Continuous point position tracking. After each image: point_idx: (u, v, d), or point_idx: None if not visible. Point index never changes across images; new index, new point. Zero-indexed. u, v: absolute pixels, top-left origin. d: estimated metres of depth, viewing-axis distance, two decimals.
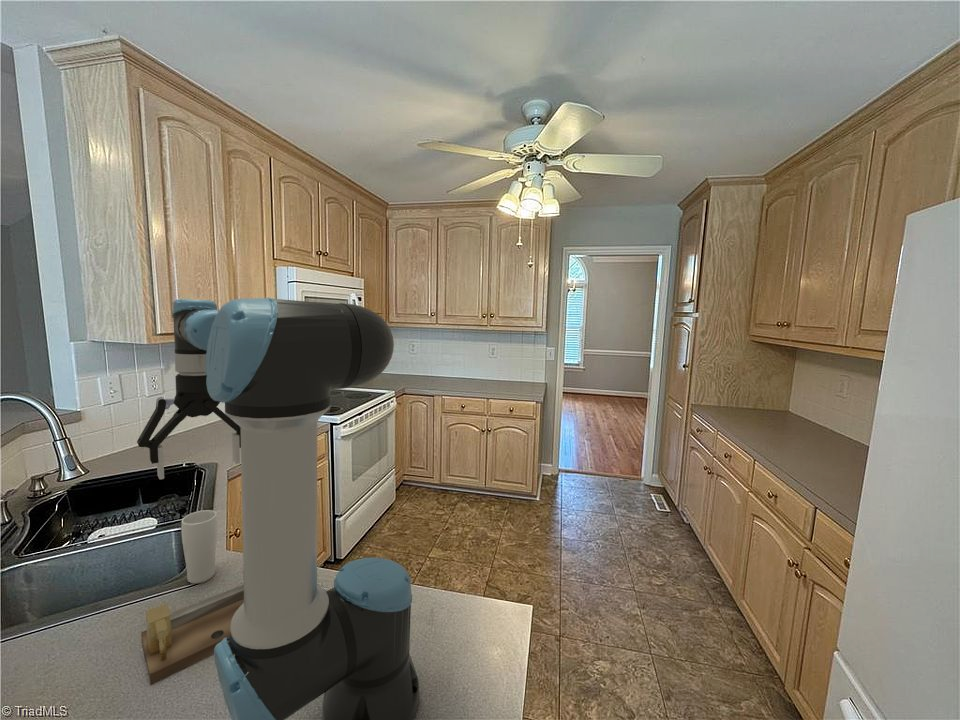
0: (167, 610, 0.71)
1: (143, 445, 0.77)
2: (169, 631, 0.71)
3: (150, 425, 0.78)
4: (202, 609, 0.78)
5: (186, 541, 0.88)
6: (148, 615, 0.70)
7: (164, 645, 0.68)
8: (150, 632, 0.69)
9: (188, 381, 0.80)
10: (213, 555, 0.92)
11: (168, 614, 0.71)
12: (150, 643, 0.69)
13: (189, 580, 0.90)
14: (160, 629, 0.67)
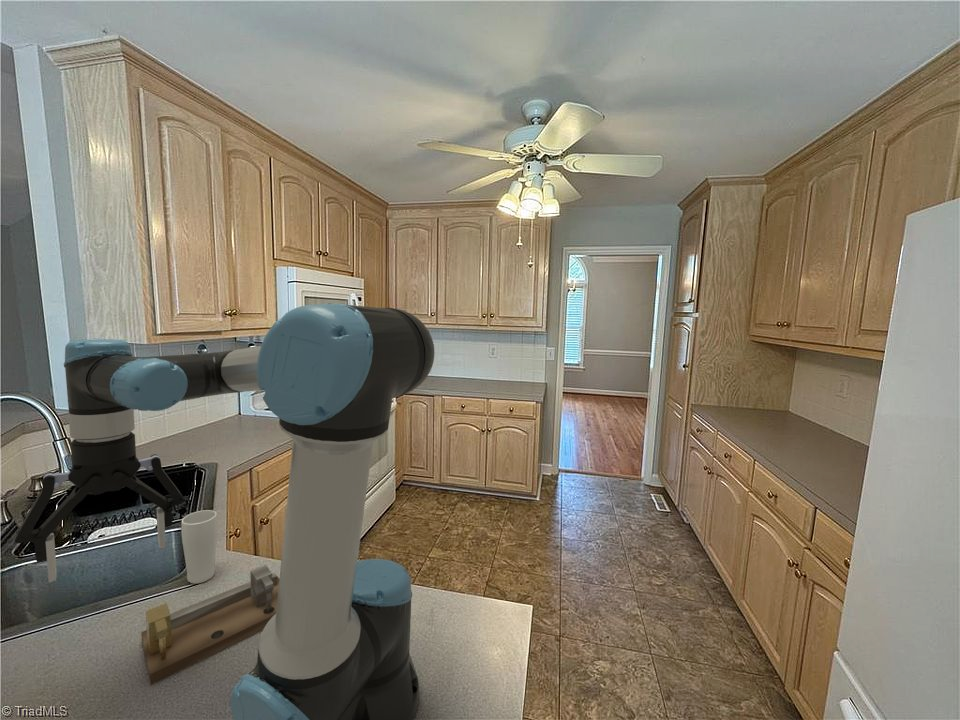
0: (167, 610, 0.71)
1: (22, 540, 0.57)
2: (169, 631, 0.71)
3: (32, 513, 0.58)
4: (202, 609, 0.78)
5: (186, 541, 0.88)
6: (148, 615, 0.70)
7: (164, 645, 0.68)
8: (150, 632, 0.69)
9: (85, 450, 0.60)
10: (213, 555, 0.92)
11: (168, 614, 0.71)
12: (150, 643, 0.69)
13: (189, 580, 0.90)
14: (160, 629, 0.67)
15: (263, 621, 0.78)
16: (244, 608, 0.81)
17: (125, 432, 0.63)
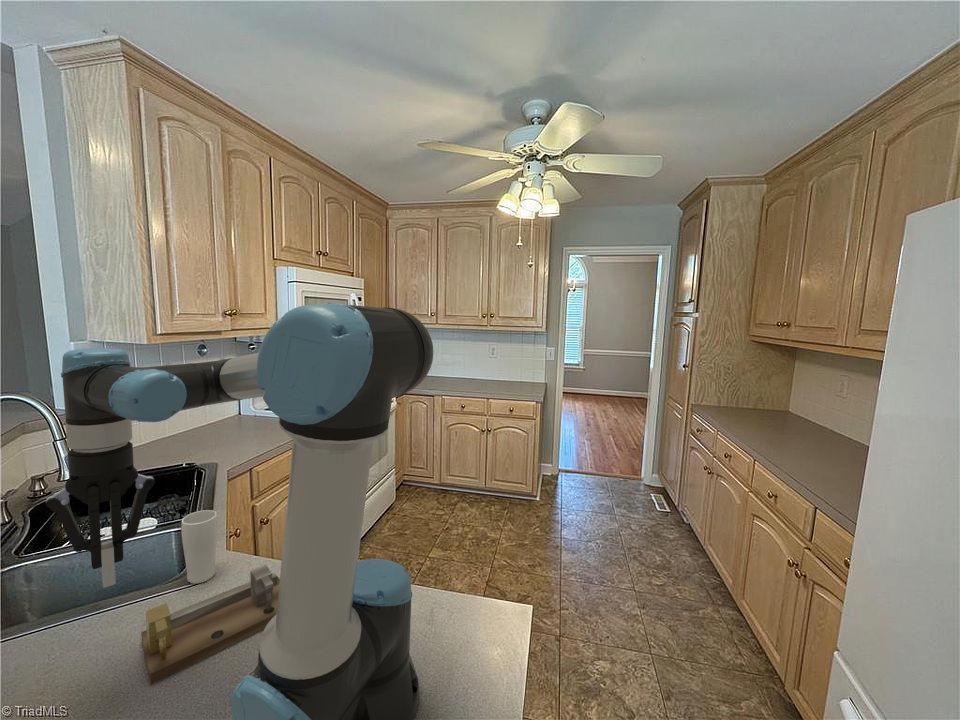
0: (167, 610, 0.71)
1: (82, 548, 0.62)
2: (169, 631, 0.71)
3: (66, 529, 0.60)
4: (202, 609, 0.78)
5: (186, 541, 0.88)
6: (148, 615, 0.70)
7: (164, 645, 0.68)
8: (150, 632, 0.69)
9: (82, 461, 0.59)
10: (213, 555, 0.92)
11: (168, 614, 0.71)
12: (150, 643, 0.69)
13: (189, 580, 0.90)
14: (160, 629, 0.67)
15: (263, 621, 0.78)
16: (244, 608, 0.81)
17: (123, 442, 0.63)
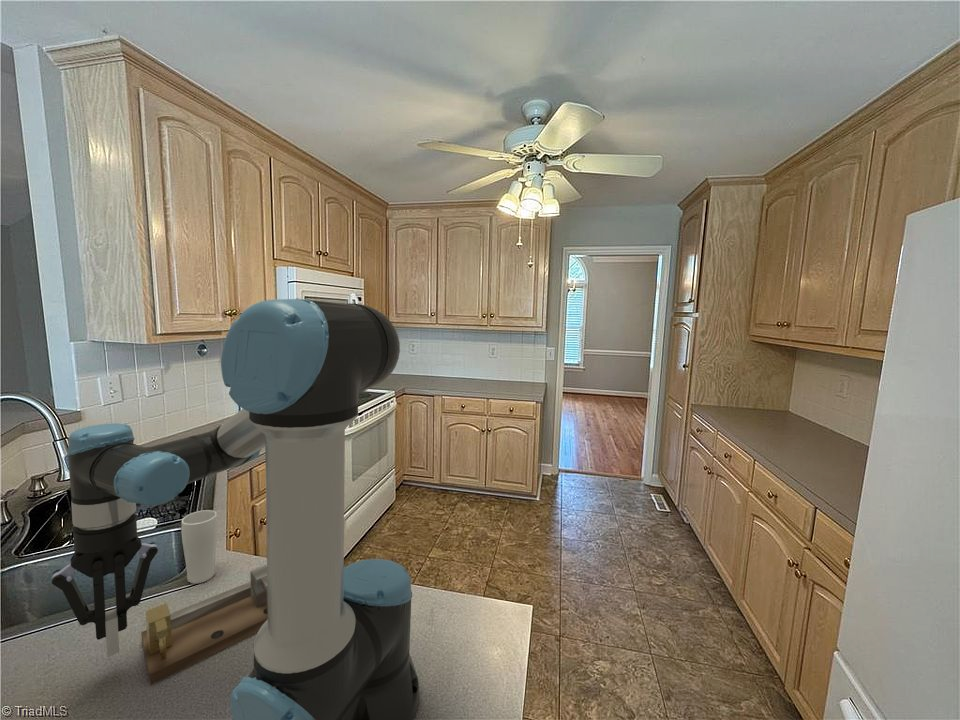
0: (167, 610, 0.71)
1: (87, 621, 0.63)
2: (169, 631, 0.71)
3: (71, 604, 0.62)
4: (202, 609, 0.78)
5: (186, 541, 0.88)
6: (148, 615, 0.70)
7: (164, 645, 0.68)
8: (150, 632, 0.69)
9: (87, 539, 0.61)
10: (213, 555, 0.92)
11: (168, 614, 0.71)
12: (150, 643, 0.69)
13: (189, 580, 0.90)
14: (160, 629, 0.67)
15: (263, 621, 0.78)
16: (244, 608, 0.81)
17: (127, 516, 0.64)
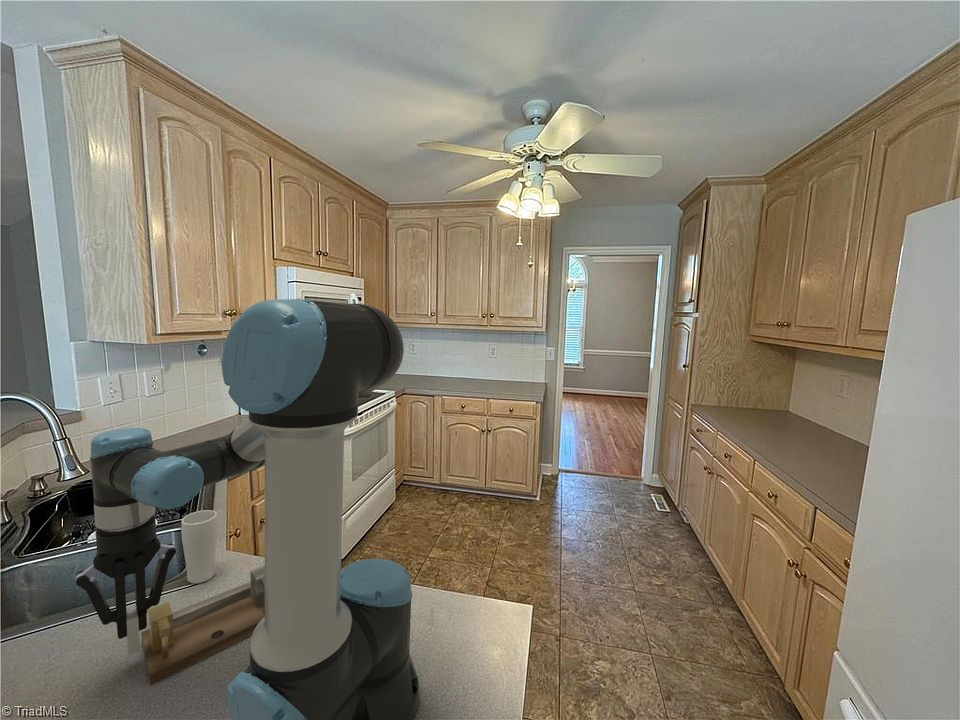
0: (169, 609, 0.72)
1: (109, 620, 0.65)
2: (171, 630, 0.71)
3: (94, 604, 0.63)
4: (202, 609, 0.78)
5: (186, 541, 0.88)
6: (150, 614, 0.70)
7: (166, 644, 0.68)
8: (152, 631, 0.69)
9: (110, 540, 0.63)
10: (213, 555, 0.92)
11: (170, 613, 0.71)
12: (152, 642, 0.69)
13: (189, 580, 0.90)
14: (163, 628, 0.68)
15: None
16: (244, 608, 0.81)
17: (147, 518, 0.66)
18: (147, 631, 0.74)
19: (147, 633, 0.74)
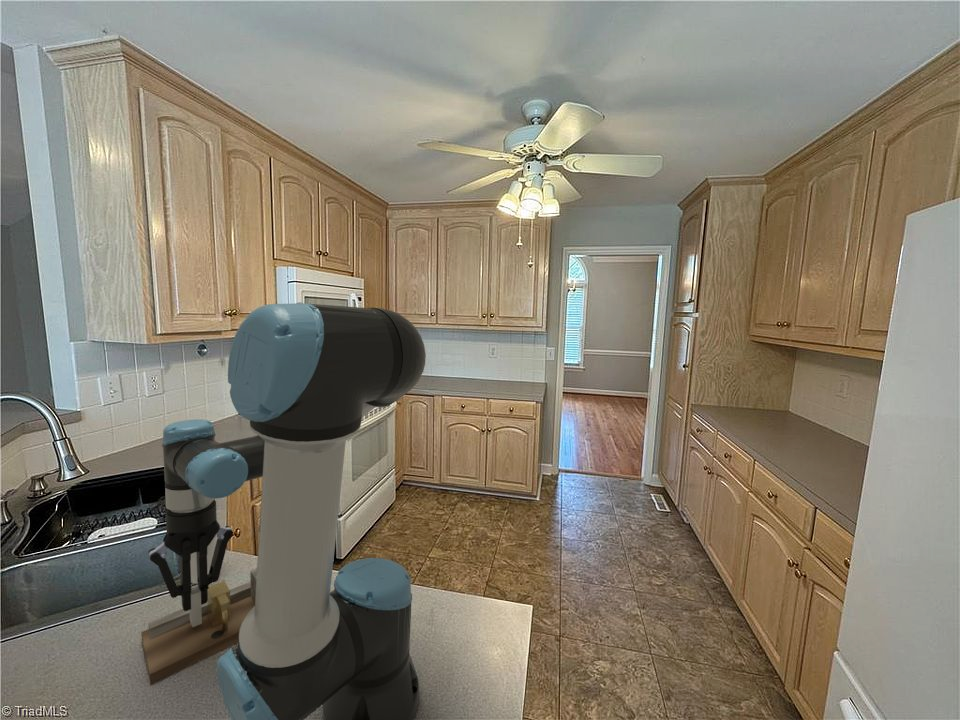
0: (226, 587, 0.78)
1: (177, 594, 0.71)
2: None
3: (165, 579, 0.70)
4: (202, 609, 0.78)
5: None
6: (210, 591, 0.77)
7: (226, 617, 0.75)
8: (213, 606, 0.75)
9: (180, 520, 0.69)
10: None
11: (228, 590, 0.77)
12: (213, 616, 0.76)
13: None
14: (223, 602, 0.74)
15: None
16: (244, 608, 0.81)
17: (210, 501, 0.72)
18: (147, 631, 0.74)
19: (147, 633, 0.74)
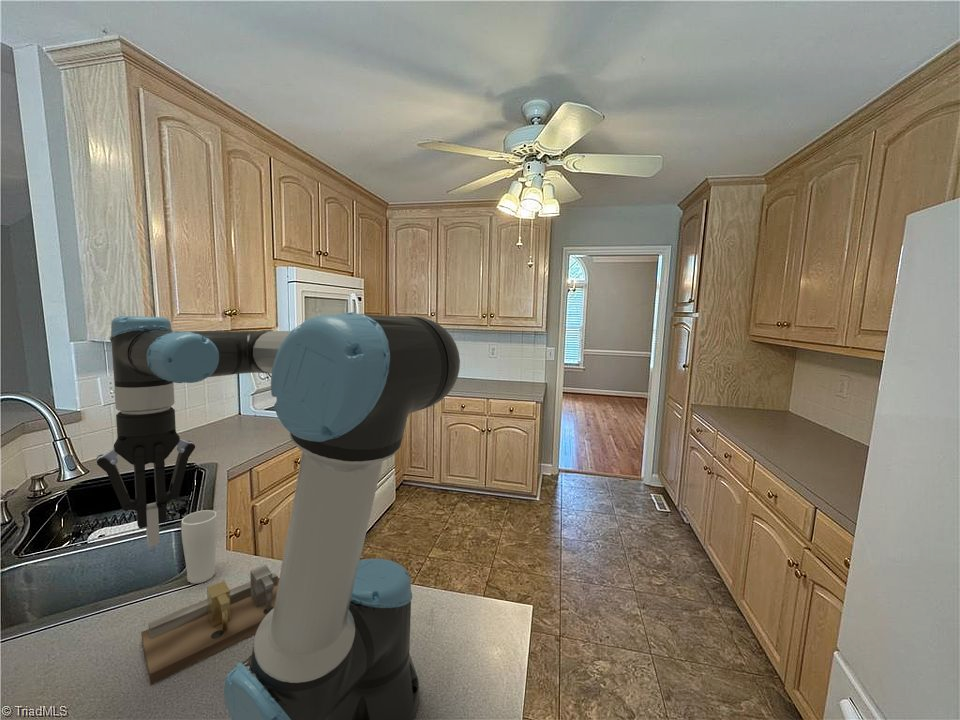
0: (226, 587, 0.78)
1: (129, 507, 0.65)
2: None
3: (115, 488, 0.63)
4: (202, 609, 0.78)
5: (186, 541, 0.88)
6: (210, 591, 0.77)
7: (226, 617, 0.75)
8: (213, 606, 0.75)
9: (130, 422, 0.62)
10: (213, 555, 0.92)
11: (228, 590, 0.77)
12: (213, 616, 0.76)
13: (189, 580, 0.90)
14: (223, 602, 0.74)
15: None
16: (244, 608, 0.81)
17: (167, 405, 0.65)
18: (147, 631, 0.74)
19: (147, 633, 0.74)
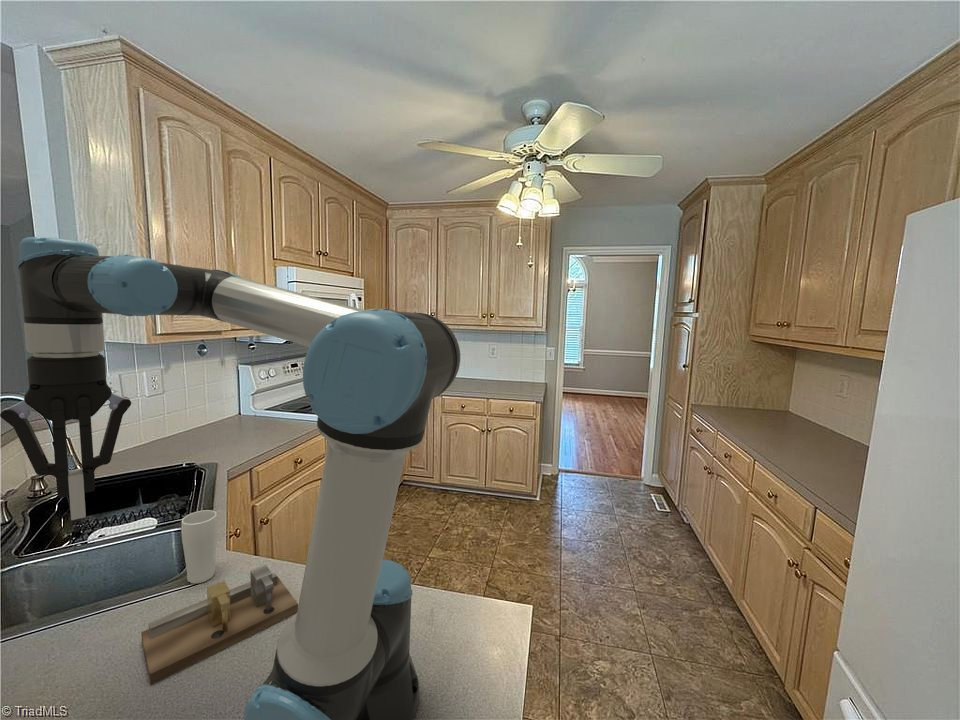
0: (226, 587, 0.78)
1: (45, 471, 0.53)
2: None
3: (25, 447, 0.52)
4: (202, 609, 0.78)
5: (186, 541, 0.88)
6: (210, 591, 0.77)
7: (226, 617, 0.75)
8: (213, 606, 0.75)
9: (43, 366, 0.51)
10: (213, 555, 0.92)
11: (228, 590, 0.77)
12: (213, 616, 0.76)
13: (189, 580, 0.90)
14: (223, 602, 0.74)
15: (263, 621, 0.78)
16: (244, 608, 0.81)
17: (92, 350, 0.54)
18: (147, 631, 0.74)
19: (147, 633, 0.74)
